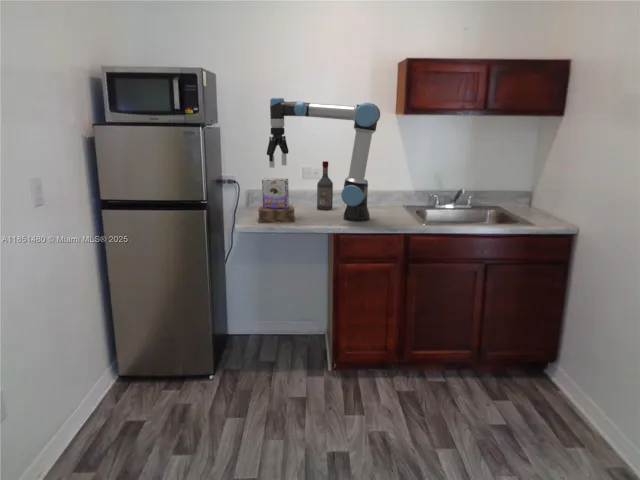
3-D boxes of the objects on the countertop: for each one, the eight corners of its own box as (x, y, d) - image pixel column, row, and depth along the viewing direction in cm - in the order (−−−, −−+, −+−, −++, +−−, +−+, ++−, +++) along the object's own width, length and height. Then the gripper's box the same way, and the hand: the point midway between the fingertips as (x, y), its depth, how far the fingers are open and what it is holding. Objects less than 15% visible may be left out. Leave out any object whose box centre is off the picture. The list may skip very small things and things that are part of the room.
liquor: (330, 210, 302) (331, 162, 295) (316, 210, 304) (317, 162, 296) (332, 208, 311) (333, 161, 304) (318, 207, 313) (319, 160, 305)
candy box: (289, 207, 274) (288, 178, 269) (286, 209, 268) (286, 180, 264) (265, 206, 277) (265, 177, 272) (262, 208, 271) (261, 179, 266)
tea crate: (293, 217, 282) (293, 205, 280) (294, 223, 269) (294, 210, 267) (258, 218, 280) (258, 205, 278) (258, 223, 266) (258, 210, 265)
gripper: (282, 126, 276) (283, 164, 281) (259, 127, 254) (260, 168, 259) (294, 126, 273) (294, 164, 278) (271, 127, 251) (272, 168, 256)
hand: (278, 166), depth 269 cm, fingers open, 13 cm apart
